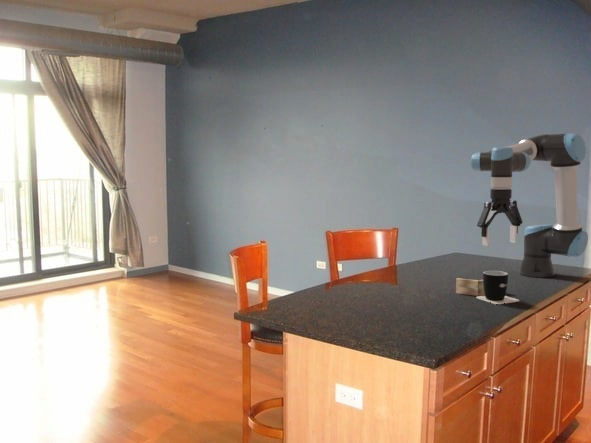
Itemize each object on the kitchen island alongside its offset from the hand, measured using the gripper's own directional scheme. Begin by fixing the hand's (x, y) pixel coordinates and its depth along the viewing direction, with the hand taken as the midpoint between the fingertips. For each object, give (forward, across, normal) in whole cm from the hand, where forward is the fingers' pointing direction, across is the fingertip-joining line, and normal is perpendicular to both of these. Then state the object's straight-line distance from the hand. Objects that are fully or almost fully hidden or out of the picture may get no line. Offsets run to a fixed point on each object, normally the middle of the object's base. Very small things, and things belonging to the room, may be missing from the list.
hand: (499, 244), depth 219 cm
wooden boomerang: (+22, -1, -12) cm, 25 cm away
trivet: (+22, 0, 0) cm, 22 cm away
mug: (+21, +1, 0) cm, 21 cm away
